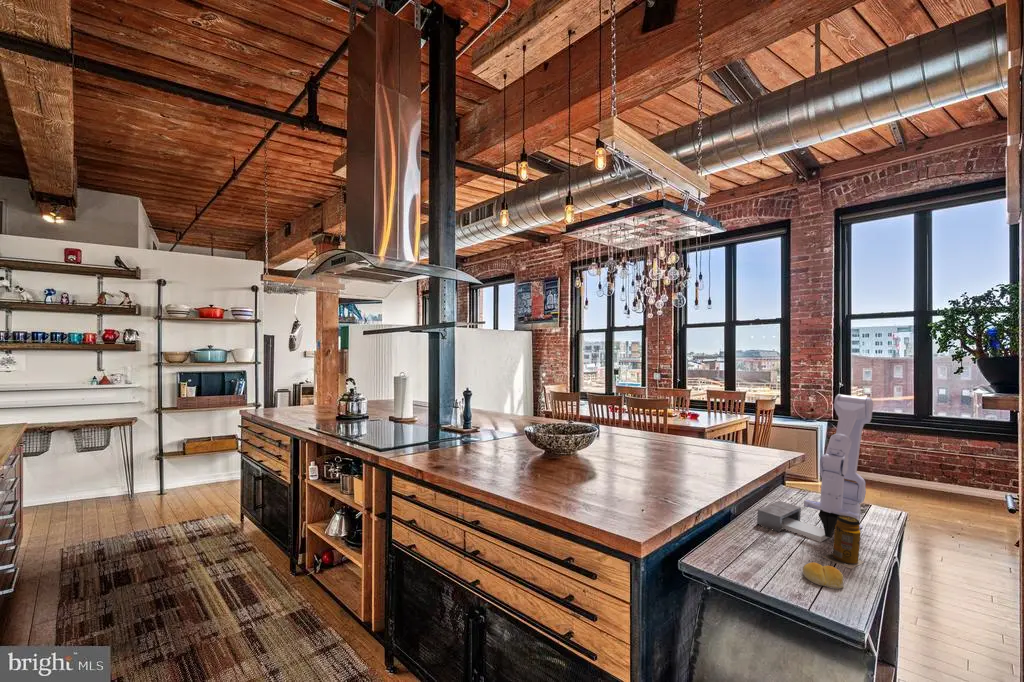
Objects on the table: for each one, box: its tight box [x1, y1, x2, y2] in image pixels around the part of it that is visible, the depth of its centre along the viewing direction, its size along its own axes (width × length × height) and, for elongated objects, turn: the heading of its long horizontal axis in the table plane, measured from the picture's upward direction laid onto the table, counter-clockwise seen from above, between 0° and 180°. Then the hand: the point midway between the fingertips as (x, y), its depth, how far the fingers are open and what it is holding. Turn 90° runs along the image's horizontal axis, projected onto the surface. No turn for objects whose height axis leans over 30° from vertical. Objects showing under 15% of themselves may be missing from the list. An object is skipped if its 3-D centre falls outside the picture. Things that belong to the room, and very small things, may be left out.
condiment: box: [822, 515, 865, 570], centre depth 136 cm, size 7×8×12 cm
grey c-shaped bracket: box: [756, 500, 802, 533], centre depth 161 cm, size 16×7×5 cm, turn 128°
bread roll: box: [802, 561, 845, 590], centre depth 124 cm, size 8×9×4 cm
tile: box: [781, 517, 829, 543], centre depth 155 cm, size 8×13×2 cm, turn 39°
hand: (828, 536), depth 150 cm, fingers closed
